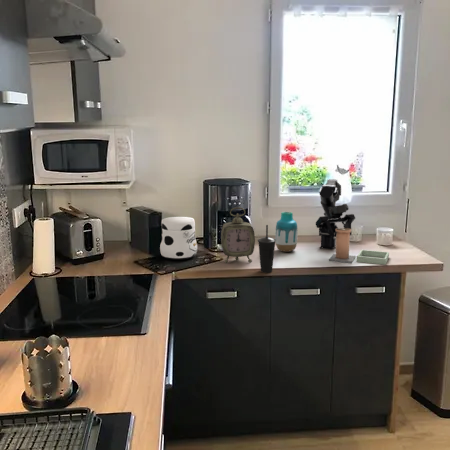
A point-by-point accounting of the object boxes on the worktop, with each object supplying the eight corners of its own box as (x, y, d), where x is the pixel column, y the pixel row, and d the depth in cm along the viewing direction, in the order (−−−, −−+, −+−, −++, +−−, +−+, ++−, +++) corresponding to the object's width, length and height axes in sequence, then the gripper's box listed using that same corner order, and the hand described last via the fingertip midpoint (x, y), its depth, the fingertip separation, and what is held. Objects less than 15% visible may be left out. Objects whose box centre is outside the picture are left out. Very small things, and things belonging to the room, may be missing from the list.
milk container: (202, 259, 233) (202, 221, 229) (166, 264, 226) (165, 224, 223) (190, 251, 249) (189, 215, 245) (156, 254, 242) (154, 217, 238)
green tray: (356, 261, 229) (356, 256, 229) (361, 254, 240) (361, 249, 240) (385, 264, 224) (385, 259, 224) (388, 257, 235) (389, 252, 235)
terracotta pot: (333, 258, 231) (334, 230, 229) (335, 254, 238) (336, 227, 235) (348, 259, 229) (349, 231, 226) (351, 256, 235) (352, 228, 233)
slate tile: (329, 260, 230) (329, 259, 230) (333, 255, 239) (333, 253, 239) (351, 263, 226) (351, 261, 226) (355, 257, 235) (355, 256, 235)
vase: (272, 252, 245) (273, 213, 241) (278, 247, 254) (279, 210, 250) (293, 254, 241) (294, 215, 237) (299, 249, 250) (300, 211, 246)
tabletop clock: (222, 264, 225) (222, 209, 220) (220, 259, 234) (220, 205, 229) (254, 263, 226) (255, 208, 221) (252, 258, 235) (252, 205, 230)
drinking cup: (277, 269, 218) (278, 223, 214) (273, 274, 211) (273, 227, 207) (260, 267, 220) (260, 222, 216) (255, 272, 213) (255, 226, 209)
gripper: (319, 199, 230) (332, 228, 222) (354, 196, 236) (367, 224, 229) (310, 213, 238) (322, 241, 231) (343, 210, 245) (356, 237, 238)
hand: (342, 235), depth 232 cm, fingers open, 9 cm apart
